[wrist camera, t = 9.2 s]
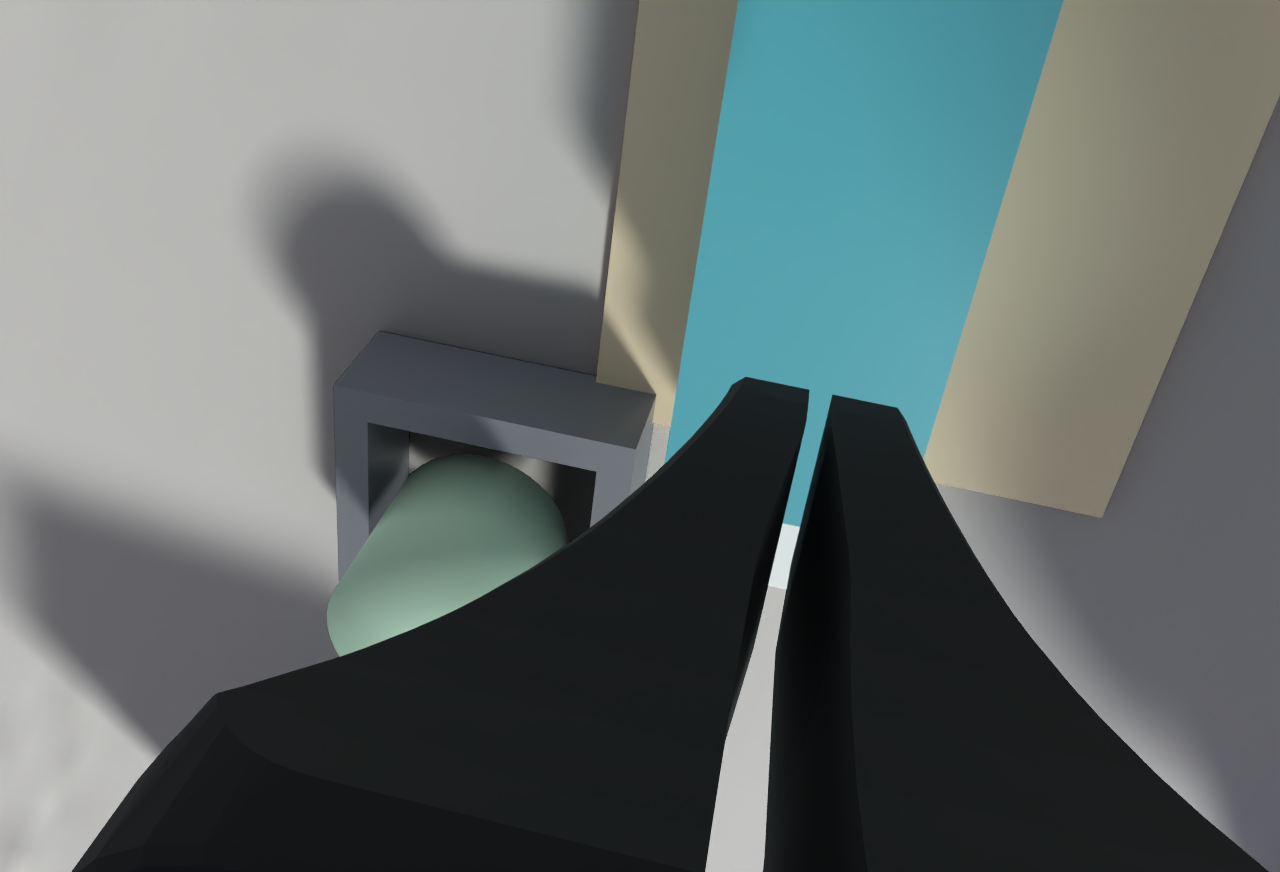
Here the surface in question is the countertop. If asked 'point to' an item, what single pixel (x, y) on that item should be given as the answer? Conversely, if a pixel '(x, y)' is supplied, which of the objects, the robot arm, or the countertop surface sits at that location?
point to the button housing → (475, 423)
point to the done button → (443, 548)
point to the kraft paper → (996, 230)
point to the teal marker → (854, 205)
